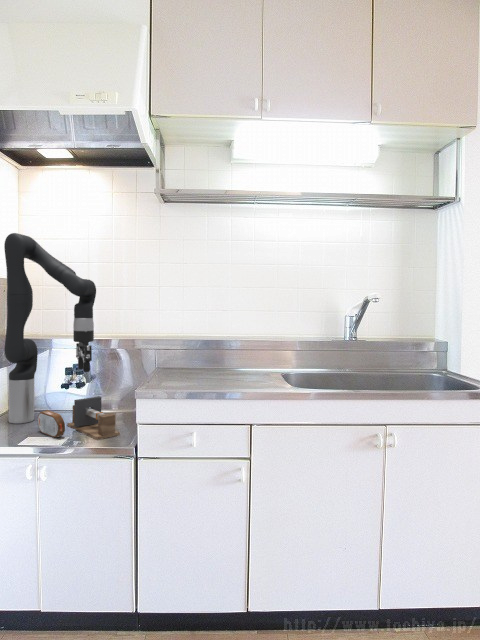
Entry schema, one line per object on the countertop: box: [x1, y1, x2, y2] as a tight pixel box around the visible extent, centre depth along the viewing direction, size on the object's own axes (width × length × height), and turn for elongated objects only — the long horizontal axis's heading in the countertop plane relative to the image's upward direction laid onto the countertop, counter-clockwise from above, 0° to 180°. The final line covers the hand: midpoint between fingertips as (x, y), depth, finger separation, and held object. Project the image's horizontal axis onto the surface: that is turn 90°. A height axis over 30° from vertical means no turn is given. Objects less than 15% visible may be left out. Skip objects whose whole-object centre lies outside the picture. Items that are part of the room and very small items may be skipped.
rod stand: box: [67, 404, 121, 441], centre depth 160 cm, size 24×9×8 cm, turn 46°
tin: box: [37, 409, 66, 439], centre depth 153 cm, size 15×3×8 cm, turn 53°
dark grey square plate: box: [73, 396, 102, 427], centre depth 163 cm, size 2×10×10 cm, turn 136°
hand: (83, 370), depth 166 cm, fingers open, 8 cm apart
